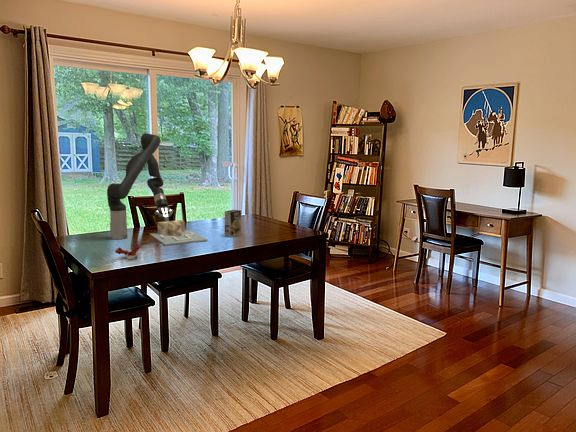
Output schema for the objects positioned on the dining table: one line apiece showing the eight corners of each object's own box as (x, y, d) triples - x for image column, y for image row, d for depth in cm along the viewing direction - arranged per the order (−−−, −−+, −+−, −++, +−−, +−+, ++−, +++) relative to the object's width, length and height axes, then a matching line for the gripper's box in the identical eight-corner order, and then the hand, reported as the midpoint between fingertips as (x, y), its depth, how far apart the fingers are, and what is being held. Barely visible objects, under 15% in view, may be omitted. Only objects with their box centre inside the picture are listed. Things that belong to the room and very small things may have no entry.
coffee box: (231, 237, 283) (231, 212, 280) (224, 235, 287) (224, 210, 284) (241, 235, 290) (241, 210, 287) (234, 233, 294) (234, 209, 291)
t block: (164, 237, 275) (164, 226, 273) (157, 233, 287) (157, 222, 286) (190, 235, 283) (189, 224, 282) (182, 230, 295) (181, 220, 294)
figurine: (123, 263, 223) (122, 250, 222) (110, 259, 230) (110, 246, 229) (149, 257, 234) (149, 244, 233) (136, 253, 241) (136, 241, 240)
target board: (164, 245, 258) (164, 242, 258) (149, 235, 285) (149, 232, 285) (207, 241, 272) (207, 237, 272) (189, 231, 299) (189, 228, 298)
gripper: (152, 199, 297) (158, 220, 289) (171, 197, 304) (178, 218, 296) (150, 205, 303) (156, 227, 295) (169, 204, 310) (175, 225, 302)
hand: (167, 222), depth 296 cm, fingers closed
